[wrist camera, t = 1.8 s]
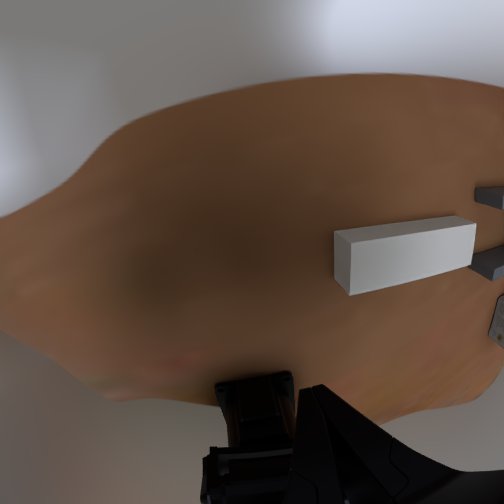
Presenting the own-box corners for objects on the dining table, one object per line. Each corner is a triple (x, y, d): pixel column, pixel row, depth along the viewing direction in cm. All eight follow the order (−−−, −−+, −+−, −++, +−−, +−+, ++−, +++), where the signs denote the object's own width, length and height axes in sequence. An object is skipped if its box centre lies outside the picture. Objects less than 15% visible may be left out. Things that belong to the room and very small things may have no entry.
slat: (449, 252, 21) (470, 264, 18) (332, 276, 20) (349, 295, 17) (452, 214, 19) (476, 223, 17) (332, 229, 19) (351, 243, 16)
